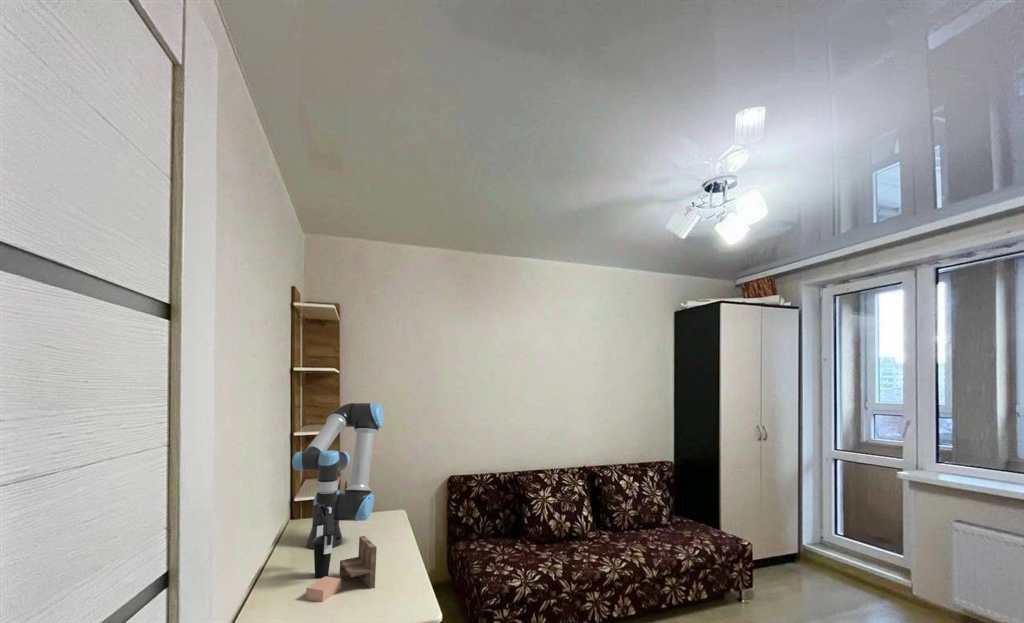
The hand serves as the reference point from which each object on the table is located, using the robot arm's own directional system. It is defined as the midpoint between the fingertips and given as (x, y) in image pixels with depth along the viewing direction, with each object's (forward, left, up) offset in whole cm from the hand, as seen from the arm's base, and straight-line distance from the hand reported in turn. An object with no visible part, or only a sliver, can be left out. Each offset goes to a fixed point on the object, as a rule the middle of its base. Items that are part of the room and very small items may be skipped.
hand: (323, 548), depth 186 cm
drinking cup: (0, 0, -10) cm, 10 cm away
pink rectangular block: (+16, -3, -11) cm, 20 cm away
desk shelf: (+14, +9, -10) cm, 19 cm away
